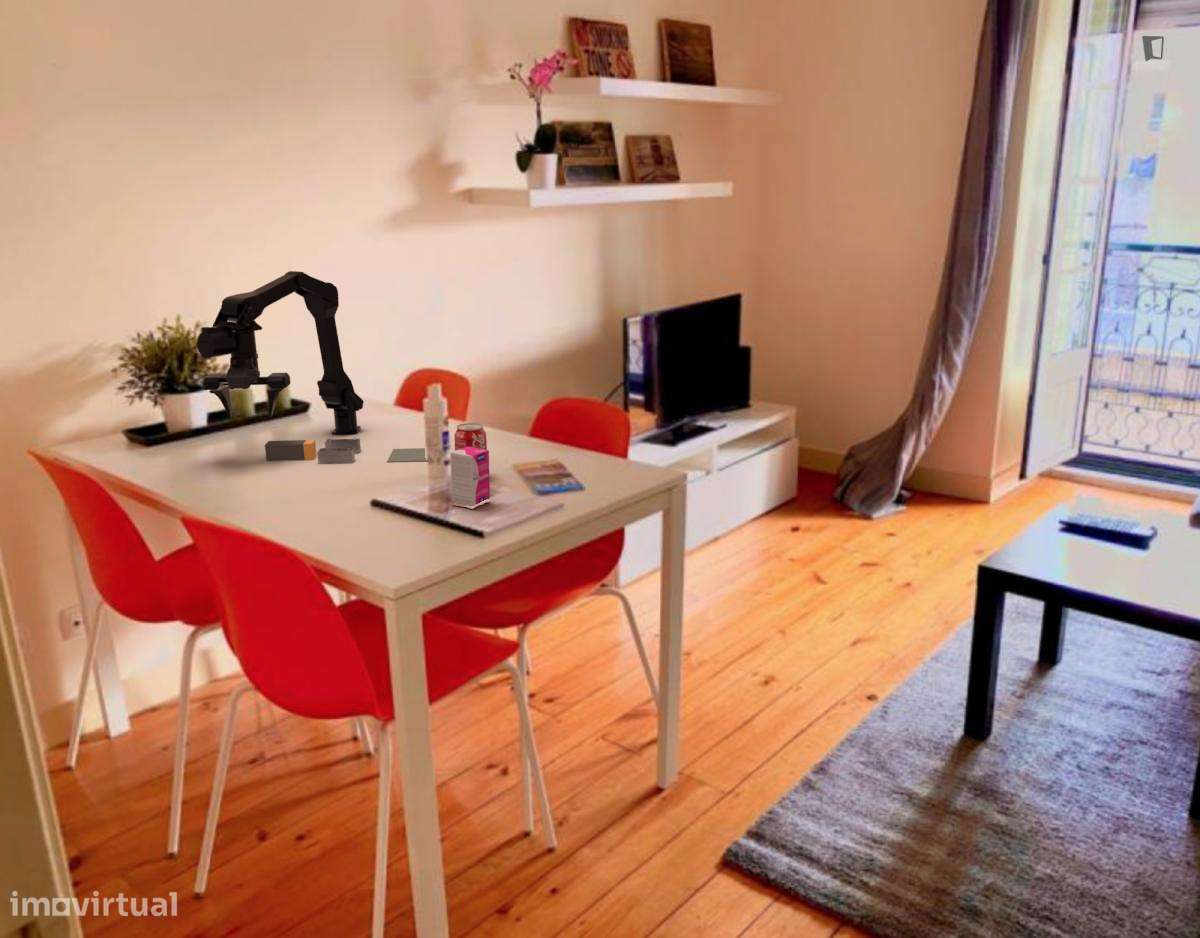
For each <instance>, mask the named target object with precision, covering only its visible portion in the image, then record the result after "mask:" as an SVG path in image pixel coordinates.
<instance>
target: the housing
mask: <svg viewBox="0 0 1200 938" xmlns="http://www.w3.org/2000/svg"><path fill="white" fill-rule="evenodd" d="M361 450H362V449H361V439H360V438H357V437H356V438H341V439H340V438H338V439H336V438H333V439H332V438H329V439H326V440H325V441H324V447H322V448H319V449H318V450H316V455H317V462H318V465H319V464H320V465H321V464H322V465H323V464H324V465H325V464H326V465H328V464H330V465H331V464H354V461H355V459H356V458H355V454H360V453H361Z"/></svg>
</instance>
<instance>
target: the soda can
mask: <svg viewBox="0 0 1200 938" xmlns="http://www.w3.org/2000/svg"><path fill="white" fill-rule="evenodd" d="M467 446H469V447H474V448H479V449H484V450H488V445H487V432H486V431H485V429H484V425H483V424H482V423H479V422H466V423H465V422H464V423H461V424H460V423H459V424H458V425H457V426H456V430H455V432H454V451H456V450H459V449H462V448H465V447H467Z"/></svg>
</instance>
